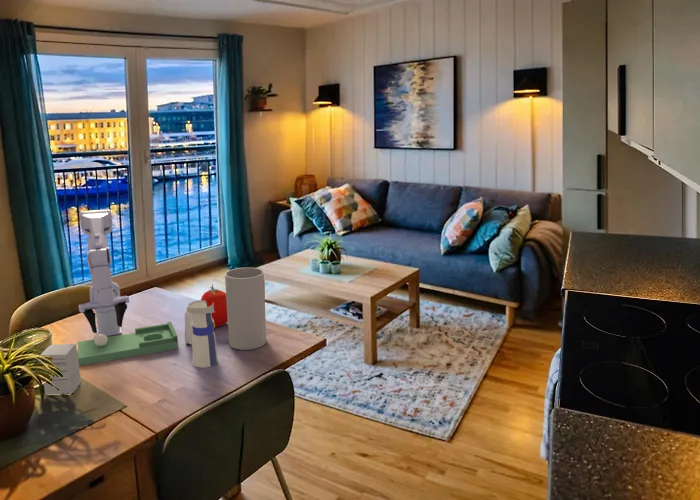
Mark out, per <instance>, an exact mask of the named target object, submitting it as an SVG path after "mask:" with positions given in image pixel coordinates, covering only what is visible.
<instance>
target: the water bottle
mask: <svg viewBox="0 0 700 500" xmlns="http://www.w3.org/2000/svg"><path fill="white" fill-rule="evenodd" d="M209 287H210V290H212V293H214V295H215V290H216V288H214V285H213V283H212V284H211V286H209ZM186 308H187V311H188V312H190V313H192V316H193V319H192V322H191V325H192V327H193V334H192V345H191V346H192V347H191V348H192V366H194V367H197V368H202V369H203V368H210V367H213V366H215V365H216V364H217V363H218V362H219V360H218V359H219V358H218V352H217V351H218V350H217V339H216V333H215V328H216V327H215V323H214V320H213V319H212V315H211V314H212V313H213V312H214V303H213V304H212V305H211V306H209V307H207V303H206V301H204V300H201V299H199V300H194V301H192V302H190V303H188V305H187V307H186ZM214 313H215V312H214Z"/></svg>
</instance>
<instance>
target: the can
mask: <svg viewBox="0 0 700 500" xmlns="http://www.w3.org/2000/svg"><path fill="white" fill-rule="evenodd" d="M192 319H193V316H192V313H190V312H188V311H187V307H186V308H185V311H184V342H185V343H186V344H187V345H190V346H192V334H193V327H192V325H191V322H192Z"/></svg>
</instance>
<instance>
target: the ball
mask: <svg viewBox="0 0 700 500" xmlns="http://www.w3.org/2000/svg"><path fill="white" fill-rule="evenodd" d="M107 337H108V336H106V335H104V334H99V335H97V334H96V336H95V338H94V342H95V344H96V345H97V346H100V347H102V346H104V345H106V344H107V341H108V339H107Z"/></svg>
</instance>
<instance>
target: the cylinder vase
mask: <svg viewBox="0 0 700 500" xmlns="http://www.w3.org/2000/svg"><path fill="white" fill-rule="evenodd" d="M224 283H225V293H226V301H227V318H228V322H227V329H228V344H229V346H230V348H232V349H235V350H238V351H250V350H251V351H252V350H257V349H259V348H261V347H264V345H265V344H266V343H267V323H266V322H267V321H266V320H267V319H266V299H265V298H266V297H265V279H264V270H263V269H261V268H257V267H238V268H237V267H236V268H232V269H229V270H227V271H226V272H224Z"/></svg>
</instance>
